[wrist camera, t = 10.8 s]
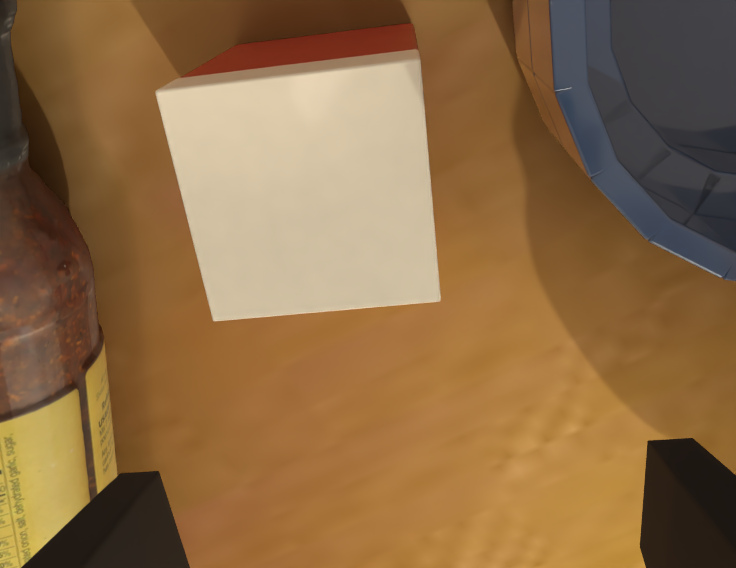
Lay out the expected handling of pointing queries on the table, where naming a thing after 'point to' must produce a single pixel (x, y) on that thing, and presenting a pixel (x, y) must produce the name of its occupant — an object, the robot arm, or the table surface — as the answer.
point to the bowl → (644, 111)
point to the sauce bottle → (44, 348)
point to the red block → (307, 173)
